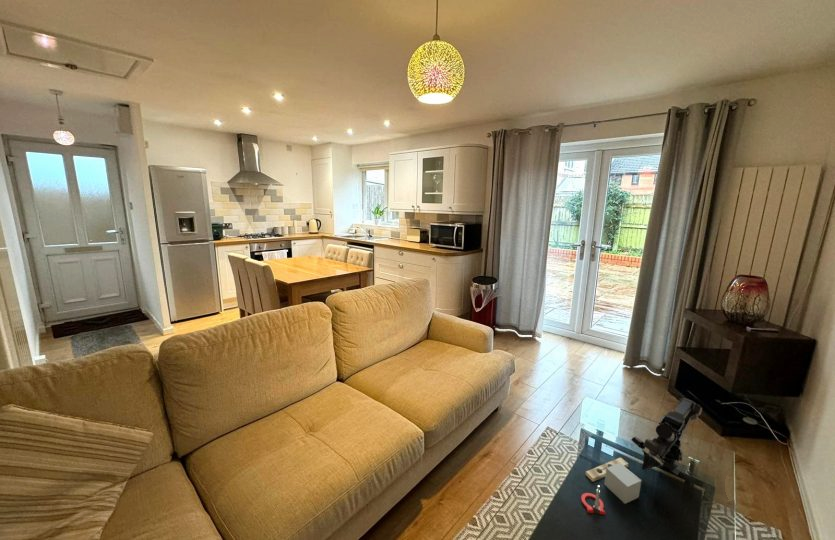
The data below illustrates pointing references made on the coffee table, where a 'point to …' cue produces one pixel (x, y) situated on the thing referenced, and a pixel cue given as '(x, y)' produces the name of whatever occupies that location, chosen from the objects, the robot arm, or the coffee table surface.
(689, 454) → the coffee table surface
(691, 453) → the coffee table surface
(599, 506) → the red shackle
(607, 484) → the block
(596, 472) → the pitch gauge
